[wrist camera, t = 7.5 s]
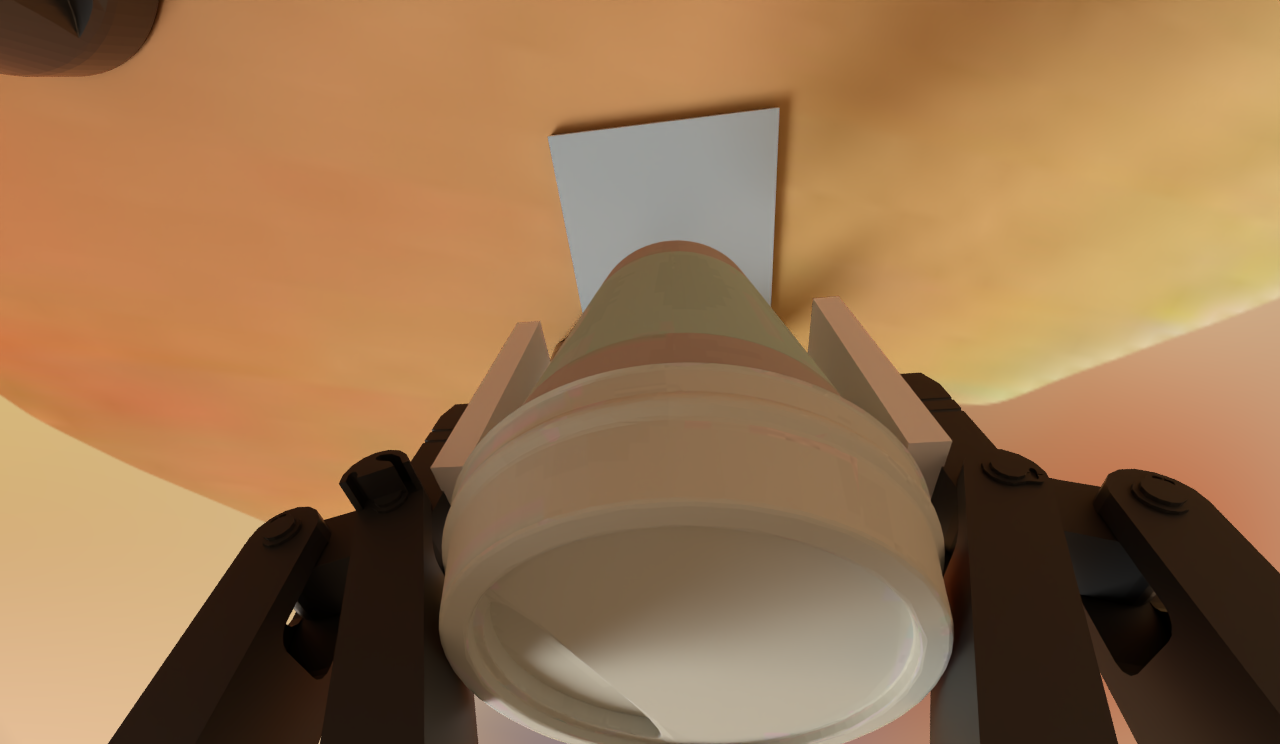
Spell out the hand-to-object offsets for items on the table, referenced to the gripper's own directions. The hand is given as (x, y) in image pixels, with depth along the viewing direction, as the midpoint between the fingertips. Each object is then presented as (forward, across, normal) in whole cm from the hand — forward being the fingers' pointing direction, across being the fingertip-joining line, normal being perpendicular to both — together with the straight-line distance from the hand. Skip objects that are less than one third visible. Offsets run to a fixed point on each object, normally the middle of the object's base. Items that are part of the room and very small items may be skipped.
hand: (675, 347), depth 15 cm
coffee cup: (+3, 0, 0) cm, 3 cm away
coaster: (+12, 0, 0) cm, 12 cm away
